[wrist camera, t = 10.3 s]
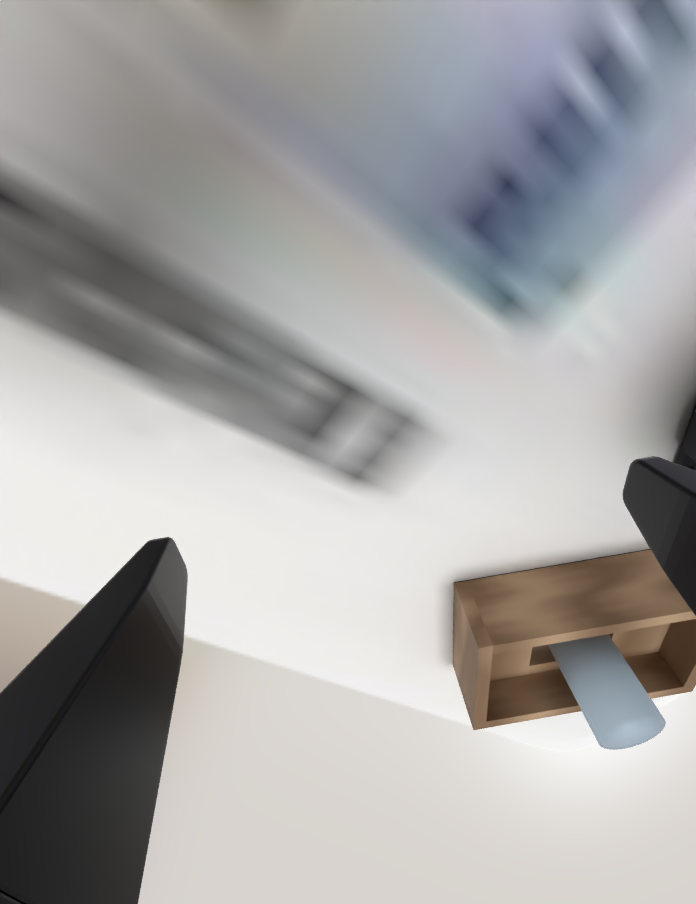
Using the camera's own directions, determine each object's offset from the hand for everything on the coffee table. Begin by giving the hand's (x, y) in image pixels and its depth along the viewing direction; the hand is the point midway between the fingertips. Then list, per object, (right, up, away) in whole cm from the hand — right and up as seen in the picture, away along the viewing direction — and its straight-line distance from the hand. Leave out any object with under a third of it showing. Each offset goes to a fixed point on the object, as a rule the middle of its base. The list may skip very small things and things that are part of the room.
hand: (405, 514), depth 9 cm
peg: (+13, -9, +23) cm, 28 cm away
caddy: (+13, -9, +23) cm, 28 cm away
